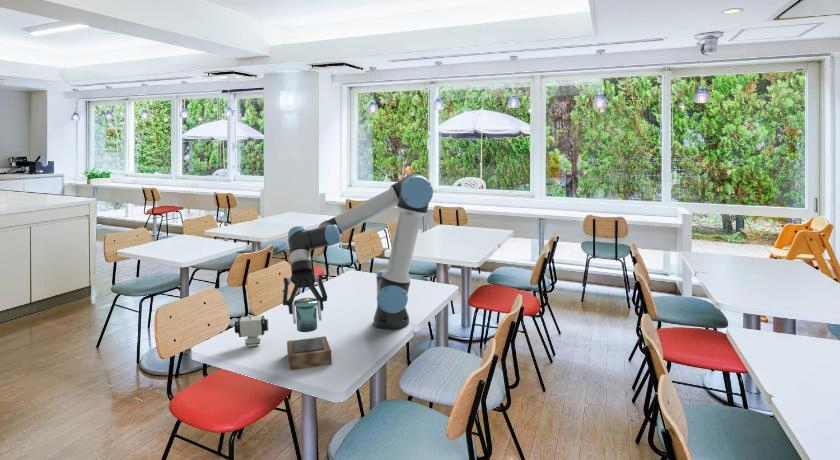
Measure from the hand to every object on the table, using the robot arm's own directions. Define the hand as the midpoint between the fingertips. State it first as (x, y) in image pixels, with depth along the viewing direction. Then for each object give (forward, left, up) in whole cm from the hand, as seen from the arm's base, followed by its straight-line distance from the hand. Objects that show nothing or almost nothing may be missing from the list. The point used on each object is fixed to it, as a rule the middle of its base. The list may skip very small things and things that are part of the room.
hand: (307, 320), depth 171 cm
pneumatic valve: (+19, -23, -16) cm, 34 cm away
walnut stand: (0, -3, -16) cm, 16 cm away
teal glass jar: (0, -3, -4) cm, 5 cm away
